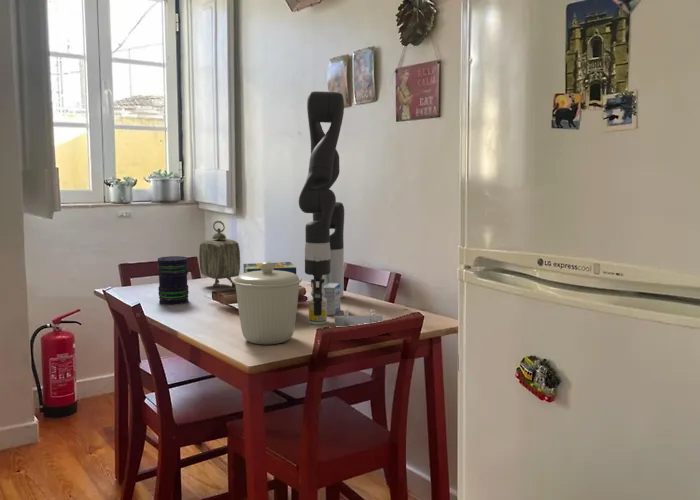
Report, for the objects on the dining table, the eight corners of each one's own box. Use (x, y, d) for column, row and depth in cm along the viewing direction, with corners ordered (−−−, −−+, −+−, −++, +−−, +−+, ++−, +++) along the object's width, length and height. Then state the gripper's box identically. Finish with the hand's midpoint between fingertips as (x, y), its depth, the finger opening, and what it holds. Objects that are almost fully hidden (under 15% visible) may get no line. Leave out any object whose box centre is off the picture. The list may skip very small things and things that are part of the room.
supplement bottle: (322, 325, 196) (322, 293, 195) (305, 323, 198) (305, 291, 197) (329, 321, 201) (329, 289, 200) (313, 319, 203) (313, 288, 202)
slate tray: (334, 320, 201) (334, 306, 201) (381, 320, 202) (381, 305, 201) (335, 334, 186) (335, 318, 185) (386, 334, 186) (386, 318, 186)
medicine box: (335, 315, 209) (335, 287, 208) (321, 314, 210) (321, 287, 209) (340, 309, 217) (340, 283, 216) (327, 309, 218) (327, 282, 216)
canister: (302, 348, 172) (302, 266, 169) (230, 350, 170) (229, 267, 168) (302, 330, 190) (301, 256, 187) (237, 332, 188) (235, 257, 185)
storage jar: (187, 298, 234) (186, 255, 232) (190, 303, 225) (189, 259, 223) (158, 300, 231) (156, 256, 229) (159, 305, 222) (157, 261, 220)
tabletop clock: (240, 287, 255) (239, 221, 251) (221, 290, 248) (219, 223, 245) (218, 282, 265) (216, 219, 261) (198, 285, 258) (196, 220, 255)
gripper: (305, 254, 204) (305, 307, 206) (304, 261, 190) (304, 317, 192) (330, 254, 204) (330, 306, 206) (330, 261, 190) (330, 317, 192)
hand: (317, 312), depth 199 cm, fingers open, 8 cm apart
